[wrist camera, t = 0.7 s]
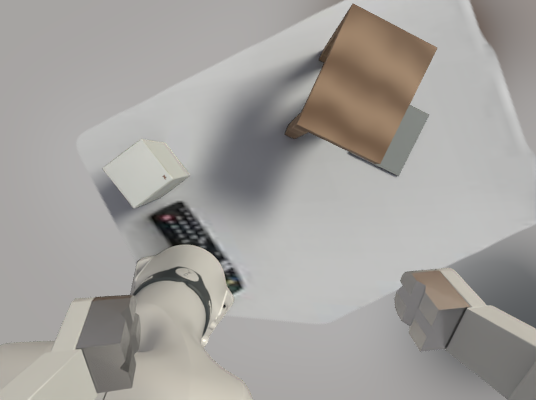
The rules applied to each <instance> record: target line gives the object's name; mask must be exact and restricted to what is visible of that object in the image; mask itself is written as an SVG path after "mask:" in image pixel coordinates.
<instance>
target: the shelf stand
mask: <svg viewBox="0 0 536 400" xmlns="http://www.w3.org/2000/svg"><path fill="white" fill-rule="evenodd" d="M436 50H437V47H435V46H433V45H431V44H429V43H427V42H425V41H424V40H422V39H420V38H418V37H416V36H414V35H412V34H410V33H408V32H406V31H405V30H403V29H401V28H399V27H397V26H395V25H393V24H391V23H389V22H387V21H385V20H384V19H382V18H380V17H378V16H376V15H374V14H372V13H370V12H368V11H366V10H364V9H363V8H361V7H359V6H357V5H355V4H352V6H351V7H350V9H349V10H348V12H347V13H346V15H345V17H344V18H343V20H342V21H341V23H340V24H339V26H338V28H337V29H336V31H335V32H334V34H333V35H332V37H331V38H330V40H329V42H328V43H327V45H326V46H325V48H324V49H323V52H322V54H321V56H320V58H319V60H320V61H322V62H323V63H324V64H323V66H322V69H321V71H320V73H319V75H318V77H317V79H316V82H315V84H314V86H313V88H312V90H311V92H310V95H309V97H308V99H307V101H306V103H305V105H304V108H303V110H302V112H301V113H300V114H299V115H298V116H297V117H296V118H295V119H294V120H293V121H292V122H291V123H290V124H289V125H288V128H287V130H286V132H285V135H287V136H289V137H291V138H293V139H296V138H298V137H300V136H302V135H304V134H306V133H308V132H309V133H311V134H313V135H315V136H318V137H320V138H322V139H324V140H326V141H328V142H330V143H332V144H334V145H336V146H338V147H340V148H342V149H345V150H347V151H349V152H351V153H353V154H355V155H357V156H359V157H361V158H363V159H365V160H367V161H370V162H372V163H374V164H381V162H382V160H383V157H384V155H385V153H386V151H387V149H388V147H389V145H390V143H391V141H392V139H393V137H394V135H395V133H396V131H397V129H398V127H399V125H400V123H401V121H402V119H403V117H404V115H405V113H406V111H407V109H408V107H409V105H410V103H411V101H412V99H413V97H414V95H415V93H416V90H417V88H418V86H419V84H420V82H421V80H422V78H423V76H424V74H425V72H426V70H427V68H428V66H429V64H430V62H431V60H432V58H433V56H434V54H435V52H436Z"/></svg>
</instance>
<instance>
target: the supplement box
mask: <svg viewBox="0 0 536 400" xmlns="http://www.w3.org/2000/svg"><path fill="white" fill-rule="evenodd" d="M102 169H103V170H104V172H105V173H106V174H107V175H108V177H109V178H110V179H111V180H112V182H113V183H114V184H115V185H116V187H117V188H118V189H119V191H120V192H121V193H122V195H123V196H124V197H125V199H126V200H127V201H128V203H129V204H130V205H131V207H132V208H133V209H134V208H137V207H140V206H142V205H145V204H147V203H149V202H152V201H154V200H156V199H159V198H161V197H162V196H164V195H165V194H166V193H168V192H169V191H170V190H172V189H173V188H175V187H176V186H177V185H178V184H180V183H181V182H182V181H184V180H185V179H186V178H188V177H189V176H190V174H189V173H188V172H187V170H186V169H185V168H184V166H183V165H182V164H181V162H180V161H179V160H178V159H177V157H176V156H175V155H174V153H173V152H172V151H171V149H170V148H169V147H168V145H167V144H166V143H163V142H157V141H150V140H144V139H141V140H139V141H138V142H136V143H135V144H134V145H132V146H131V147H130V148H128V149H127V150H126V151H124V152H123V153H122V154H120V155H119V156H118V157H116V158H115V159H114V160H112V161H111V162H110V163H109V164H107V165H106V166H105V167H103V168H102Z"/></svg>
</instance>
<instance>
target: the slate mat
mask: <svg viewBox="0 0 536 400" xmlns="http://www.w3.org/2000/svg"><path fill="white" fill-rule="evenodd" d="M428 116H429V114H427V113H425V112H423V111H421V110H419V109H417V108H415V107H413V106H411V105H409V107H408V109H407V111H406V113H405V115H404V117H403V119H402V121H401V123H400V125H399V127H398V129H397V131H396V133H395V135H394V137H393V139H392V141H391V143H390V145H389V147H388V149H387V151H386V153H385V155H384V157H383V160H382V162H381V164H374V163H372V162H370V161H368V162H370V163H372V164H374V165H376V166H378V167H380V168H382V169H384V170H387V171H389V172H391V173H393V174H395V175H397V176H399V174H400V172H401V170H402V168H403V166H404V164H405V162H406V160H407V158H408V156H409V154H410V152H411V150H412V148H413V146H414V144H415V142H416V140H417V138H418V136H419V134H420V132H421V130H422V128H423V126H424V124H425V122H426V120H427V118H428ZM349 153H351V152H349ZM351 154H353V153H351ZM353 155H355V154H353ZM355 156H357V155H355ZM357 157H359V156H357ZM359 158H361V157H359ZM362 159H363V158H362ZM364 160H365V159H364ZM366 161H367V160H366Z"/></svg>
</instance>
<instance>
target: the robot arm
mask: <svg viewBox="0 0 536 400" xmlns="http://www.w3.org/2000/svg"><path fill="white" fill-rule="evenodd" d="M400 281H401V283H402V285H403V286H402V287H401V288H400V289H399V290H397V292H396V296H395V308H396V311H397V314H398V316H399V317H400V319H401V321H403V322H404V323H406V324H407V325H409V326H410V327H409V334H410V336H411V337H412V339H413V340H414V342H415V344H416V345H417V347H418V348H419V350H420V351H430V350H440V349H446V351H447V352H448V353H450V354H451V355H452V356H453V357H455V358H456V359H457V360H458V361H460V362H461V363H462V364H464V365H465V366H466V367H467V368H468V369H470V370H471V371H472V372H474V373H475V374H476V375H478V376H479V377H480V378H481V379H482V380H484V381H485V382H486V383H488V384H489V385H490V386H491V387H492V388H494V389H495V390H496V391H497V392H499V393H500V394H501V395H503V396H504V397H505V398H506V399H507V400H536V329H535V328H533V327H532V326H530V325H528V324H526V323H524V322H522V321H520V320H518V319H516V318H514V317H512V316H511V315H509V314H507V313H505V312H503V311H501V310H499V309H497V308H495V307H494V306H487V305H486V304H485V303H484V302H483V301H482V300H481V299H480V297H479V296H478V295H477V294H476V293H475V292H474V291H473V290H472V289H471V288H470V287H469V285H467V283H466V282H465V281H464V280H463V279H462V278H461V277H460V276H459V275H458V273H456V271H455V270H453V269H451V268H441V269H430V270H419V271H409V272H405V273H404V274H403V275H402V277H401V280H400ZM233 302H234V297H233V295H232V293H231V292H230V290H229V289H228V287H227V285H226V280H225V275H224V271H223V269H222V267H221V265H220V263H219V262H218V260H217V259H216V258H215V257H214V256H213V255H212V254H211V253H210V252H208V251H206V250H205V249H203V248H200V247H197V246H194V245H177V246H173V247H170V248H168V249H166V250H164V251H163V252H161V253H159V254H158V255H155V256H150V257H145V258H142V259H140V260H139V261H138V263H137V265H136V269H135V274H134V279H133V284H132V289H131V293H130V295H121V296H105V297H95V298H78V299H74V301H73V302H72V303H71V304H70V306H69V309H68V311H67V314H66V316H65V319H64V321H63V323H62V325H61V328H60V330H59V333H58V335H57V337H56V340H55V341H33V342H16V343H6V344H2V345H0V400H253V398H252V395H251V393H250V391H249V389H248V387H247V386H246V384H245V383H244V382H243V380H241V379H240V378H238V377H236V376H234V375H233V374H231V373H230V372H228V371H226V370H225V369H224V368H222V367H221V366H220V365H218V364H217V363H216V362H215V361H214V360H213V359H212V358H211V357H210V356H209V355H208V353H207V352H206V351H205V349H204V347H205V346H206V344H207V342H208V340H209V336H210V334H211V333H212V332H213V330H214V329H215V328H216V326H217V325H218V323H219V322H220V321H221V319H222V318H223V317H224V315H225V314H226V313H227V311H228V310H229V309H230V307H231V306H232V304H233ZM224 304H225V305H226V306H225V307H223V305H224Z"/></svg>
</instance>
